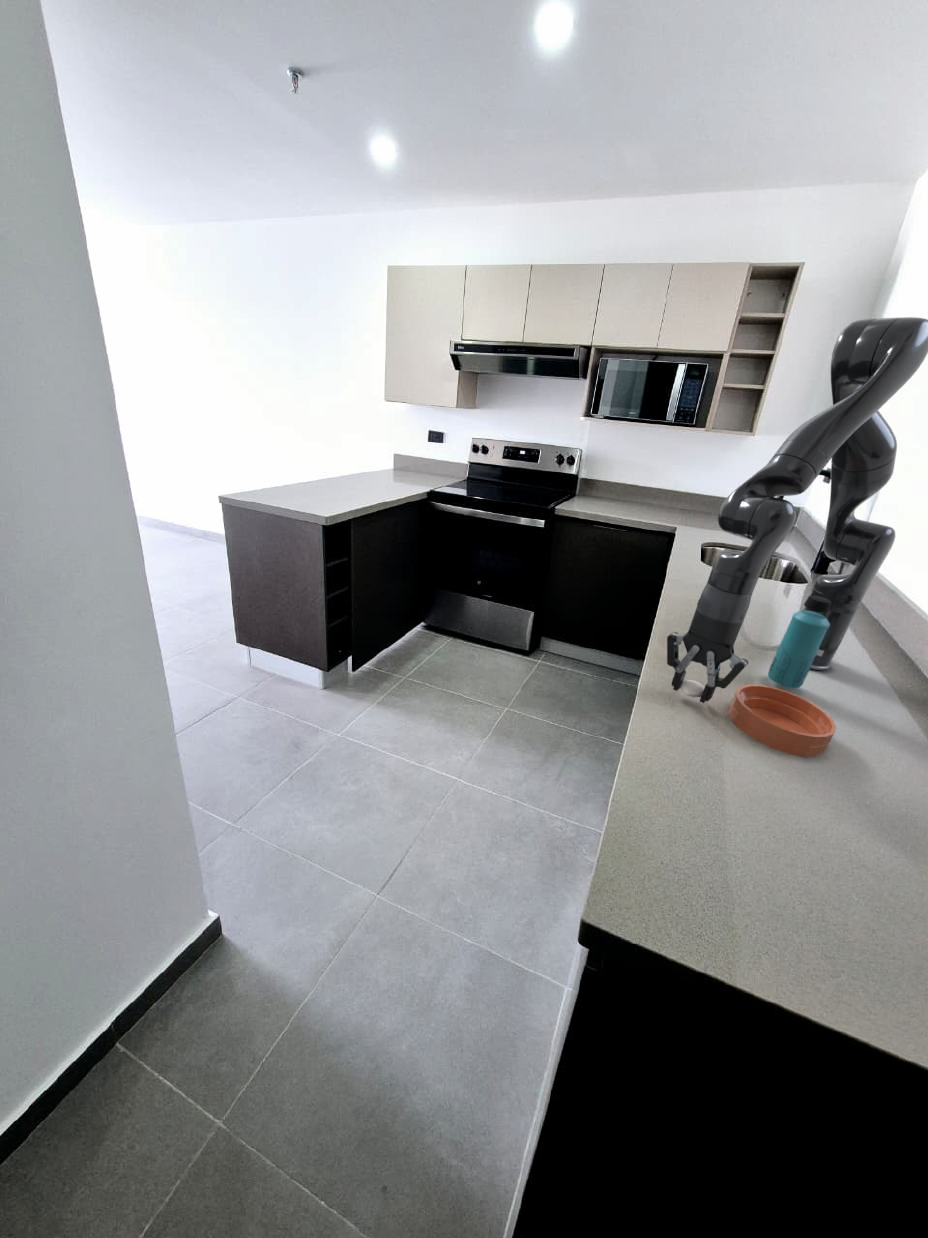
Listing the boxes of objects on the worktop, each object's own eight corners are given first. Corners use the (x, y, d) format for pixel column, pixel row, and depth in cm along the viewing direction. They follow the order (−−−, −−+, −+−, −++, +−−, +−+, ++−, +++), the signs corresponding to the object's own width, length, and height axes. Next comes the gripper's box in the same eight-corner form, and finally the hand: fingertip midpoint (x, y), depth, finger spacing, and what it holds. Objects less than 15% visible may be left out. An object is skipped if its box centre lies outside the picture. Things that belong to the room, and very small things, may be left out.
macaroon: (705, 696, 91) (709, 684, 90) (696, 705, 87) (700, 694, 86) (682, 686, 93) (686, 674, 92) (673, 694, 90) (677, 683, 89)
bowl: (741, 695, 96) (749, 675, 94) (830, 734, 87) (842, 713, 85) (716, 724, 85) (725, 703, 83) (815, 772, 76) (828, 749, 74)
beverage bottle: (804, 698, 98) (848, 607, 89) (769, 691, 99) (810, 600, 90) (791, 681, 104) (831, 595, 95) (758, 675, 104) (795, 589, 96)
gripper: (771, 622, 82) (735, 705, 89) (687, 593, 90) (660, 672, 97) (759, 633, 76) (722, 721, 84) (671, 601, 85) (644, 684, 92)
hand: (689, 694), depth 90 cm, fingers closed on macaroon, 4 cm apart
